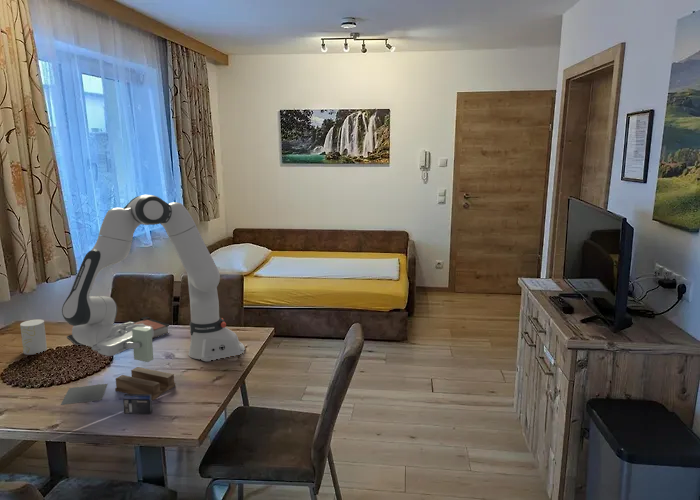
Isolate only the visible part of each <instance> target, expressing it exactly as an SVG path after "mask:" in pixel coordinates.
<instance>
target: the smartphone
mask: <svg viewBox="0 0 700 500" xmlns="http://www.w3.org/2000/svg"><path fill="white" fill-rule="evenodd" d="M66 338H67V339H68V340H69V341H70V342H71V343H73V344H74V345H75V346H76V345H80V346H83V345H84V344H81V343H79V342H77V341H76V340H75V339H74V338H73V335H72V334H69V335H67V336H66ZM84 346H85V345H84Z"/></svg>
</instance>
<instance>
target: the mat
mask: <svg viewBox="0 0 700 500" xmlns="http://www.w3.org/2000/svg"><path fill="white" fill-rule="evenodd" d="M107 387H108V383H103V384H91V385H83V386H77V387H75V386H74V387H69V388H68V390H67V392H66V394H65V395H64V397H63V399H62V402H61V404H60V405H62V406H65V405H71V404H80V403H87V402H96V401H97V402H98V401H103V397H104V396H105V393H106V390H107Z"/></svg>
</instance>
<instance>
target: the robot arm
mask: <svg viewBox="0 0 700 500" xmlns="http://www.w3.org/2000/svg"><path fill="white" fill-rule="evenodd" d="M140 225H142V226H143V225H145V226H151V225H154V226H155V225H161V226H162V227H163V228H164V230H165V233H166V234H167V237H168V239H169V240H170V243H171V245H172V247H173V248H174V250H175V253H176V255H177V256H178V258H179V260H180V263H181V264H182V267H183V268H184V270H185V272H186V275H187V285H188V294H189V295H188V296H189V305H190V307H189V308H190V309H189V310H190V320H189V333H190V344H189V350H188V356H189V357H190V358H192V359H195V360H200V359H201V360H200V361H203V362H211V360H213V361H217V360H216V359H218V360H221V359H220V358H224V359H226V358H225V357H229V358H231V357H230V356H234V357H236V356H235V355H240V354H242V353H243V352H244V350H245V351H246V349H245V345H244V344H243V342H241V341H239V337H238V335H237V333H236V332H235V331H233V330H231V329H229V328H228V327H227V322H225V319H224V318H223V317H220V306H219V305H220V303H219V301H220V300H219V295H218V286H219V283H220V279H221V275H220V274H221V273H220V271H219V269H218V267H217V265H216V263H215V261H214V259H213V256H212V255H211V253H210V251H209V249H208V247H207V246H206V244H205V241H204V239H203V236H202V235H201V233H200V231H199V229H198V227H197V225H196V223H195V221H194V219H193V217H192V215H191V213H190V212H189V211H188V209H187V208H186V207H185V206H184V204H182V203H181V202H176V201H175V202H170V203H167V202H166V201H165V200H163V199H162V198H160V197H159V196H156V195H153V194H141V195H138V196H135V197H133V198H132V199H131V200H130V201H129V202H128V203H127V204H126V205H125V206H124V207H123V208H122V207H114V208H110V209H108V211H107V212H106V214H105V215H104V218H103V221H102V222H101V226H100V229H99V232H98V237H97V240H96V242H95V244H94V246H93V248H91V250H89V251H88V252H87V253H86V255H85V256H84V258H83V259H82V262H81V264H80V266H79V269H78V272H77V275H76V276H75V280H74V282H73V284H72V287H71V290H70V292H69V294H68V296H67V297H66V299H65V301H64V302H63V304H62V307H61V315H62V317H63V319H64V320H65V322H67V323H68V324H69V325H71V326H72V329H71V335H73V338H74V339H75V340H76V341H77V342H79V343H81V344H84V346H88V347H90V348H91V350H92V351H95V352H97V354H100V355H101V356H102V355H103V356H106V357H113V356H115V355H118V354H119V353H122V352H124V351H126V350H129V349H133V348H140V347H142V343H141V342H138V341H137V342H133V336H132V329H133V328H135V327H143V328H148V329H151V330H152V337H153V336H154V331H153V328H152V327H151V326H147V325H142V324H134V322H135V321H127V322H122V323H115V322H116V317H117V315H118V314H117V313H118V306H117V302H116V301H115V300H114V298H113V297H111V296H107V295H91V292H92V289H93V287H94V284H95V282H96V279H97V276H98V275H99V274H100V272H101V271H102V270H104V269H105V268H107V267H110V266H112V265H116V264H119V263H120V262H122V261H123V260H125V259H126V258H127V257H128V256H129V254H130V252H131V248H132V245H133V244H132V243H133V239H134V234H135V232H136V229H137V228H138V227H139V226H140ZM244 353H245V352H244ZM244 353H243V354H244ZM243 354H242V355H243ZM240 356H241V355H240Z"/></svg>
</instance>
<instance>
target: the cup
mask: <svg viewBox="0 0 700 500" xmlns="http://www.w3.org/2000/svg"><path fill="white" fill-rule="evenodd" d="M45 327H46V326H45V320H44V319H37V318H36V319H31V320H25V321H23V322H21V323H20V334H21V343H22V352H23V354H24V355H26V356H27V355H28V356H29V355H37V354H36V353H38V354H41V353H43V351H44V352H46V351H47V350H48V348H47V347H48V346H47V336H46V329H45ZM40 352H41V353H40Z"/></svg>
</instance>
